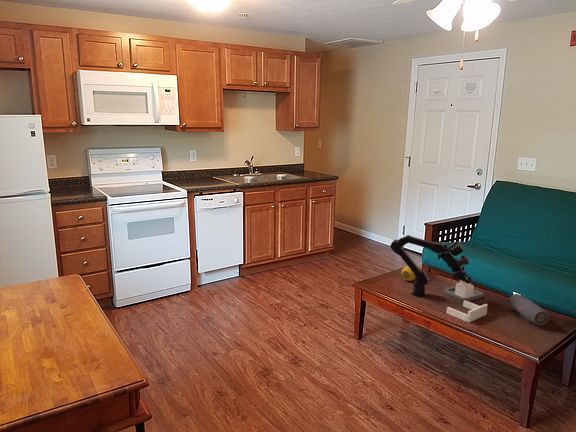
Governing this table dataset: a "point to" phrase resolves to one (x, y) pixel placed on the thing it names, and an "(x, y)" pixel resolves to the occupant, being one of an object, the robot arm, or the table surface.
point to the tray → (452, 293)
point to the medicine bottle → (464, 288)
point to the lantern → (408, 274)
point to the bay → (472, 314)
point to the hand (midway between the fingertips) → (467, 280)
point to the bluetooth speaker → (528, 309)
